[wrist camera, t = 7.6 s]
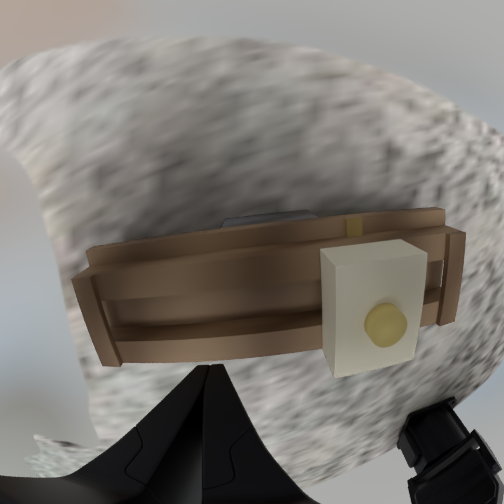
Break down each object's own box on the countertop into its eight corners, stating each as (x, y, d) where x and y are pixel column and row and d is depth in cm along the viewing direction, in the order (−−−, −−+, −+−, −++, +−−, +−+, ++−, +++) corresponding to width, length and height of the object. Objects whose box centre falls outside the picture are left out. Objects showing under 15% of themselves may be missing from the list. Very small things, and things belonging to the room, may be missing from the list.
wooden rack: (411, 201, 17) (466, 215, 12) (408, 295, 19) (451, 334, 13) (115, 234, 18) (66, 261, 12) (139, 328, 20) (108, 378, 14)
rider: (385, 232, 14) (438, 258, 9) (382, 320, 15) (420, 369, 11) (312, 240, 14) (342, 274, 9) (315, 332, 15) (338, 390, 11)
